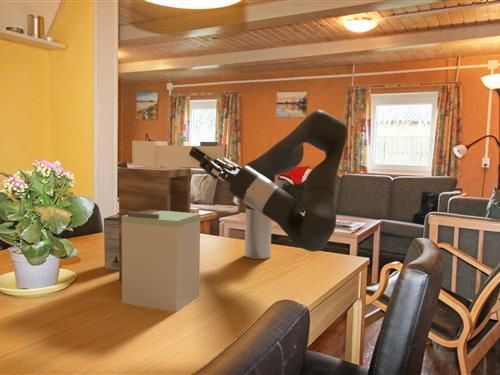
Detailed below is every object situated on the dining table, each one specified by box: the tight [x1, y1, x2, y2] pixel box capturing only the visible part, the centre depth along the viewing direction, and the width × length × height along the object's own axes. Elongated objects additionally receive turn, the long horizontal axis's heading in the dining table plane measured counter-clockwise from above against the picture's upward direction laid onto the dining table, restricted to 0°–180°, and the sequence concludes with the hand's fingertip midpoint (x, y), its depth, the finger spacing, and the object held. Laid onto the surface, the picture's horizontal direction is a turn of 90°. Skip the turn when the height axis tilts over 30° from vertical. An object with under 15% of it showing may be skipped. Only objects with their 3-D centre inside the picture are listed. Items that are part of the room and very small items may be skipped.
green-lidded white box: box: [121, 210, 201, 313], centre depth 108 cm, size 12×15×22 cm
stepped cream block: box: [131, 140, 225, 169], centre depth 104 cm, size 6×22×6 cm, turn 71°
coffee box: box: [103, 213, 119, 271], centre depth 137 cm, size 9×6×16 cm
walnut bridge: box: [118, 166, 192, 282], centre depth 125 cm, size 14×15×32 cm
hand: (196, 150), depth 102 cm, fingers closed on stepped cream block, 4 cm apart
